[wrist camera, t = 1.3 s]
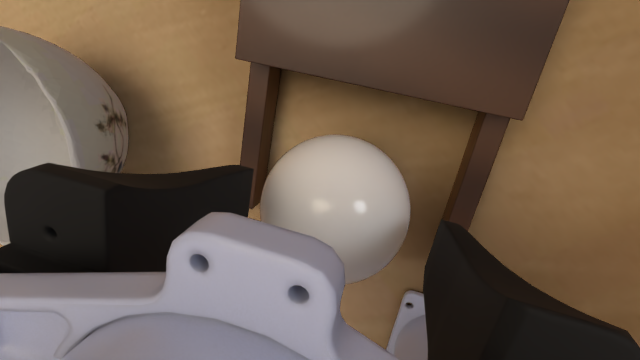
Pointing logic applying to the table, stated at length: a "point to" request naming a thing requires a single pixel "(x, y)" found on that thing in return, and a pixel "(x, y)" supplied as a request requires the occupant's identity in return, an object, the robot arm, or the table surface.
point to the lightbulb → (341, 200)
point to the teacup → (54, 112)
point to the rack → (402, 66)
